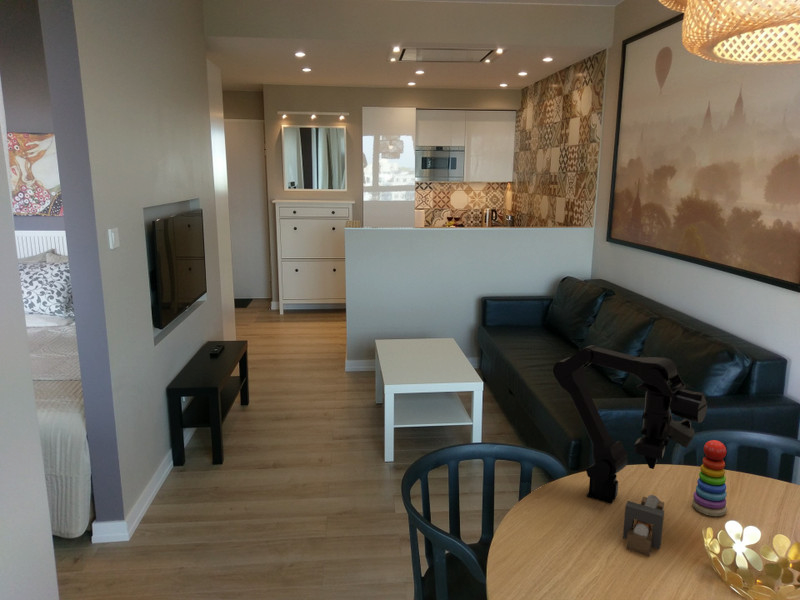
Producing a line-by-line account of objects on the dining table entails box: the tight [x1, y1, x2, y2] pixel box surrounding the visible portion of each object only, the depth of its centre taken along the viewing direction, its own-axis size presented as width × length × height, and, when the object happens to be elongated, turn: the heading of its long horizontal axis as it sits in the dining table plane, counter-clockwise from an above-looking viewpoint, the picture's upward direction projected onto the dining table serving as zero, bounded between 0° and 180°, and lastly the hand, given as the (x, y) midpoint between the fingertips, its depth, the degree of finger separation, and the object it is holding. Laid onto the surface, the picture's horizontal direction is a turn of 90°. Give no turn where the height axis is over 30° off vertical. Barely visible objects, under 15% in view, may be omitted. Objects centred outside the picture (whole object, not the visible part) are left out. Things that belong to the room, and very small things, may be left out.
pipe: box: [625, 494, 665, 557], centre depth 137 cm, size 18×5×6 cm, turn 147°
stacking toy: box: [691, 439, 728, 517], centre depth 145 cm, size 8×8×19 cm
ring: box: [622, 500, 665, 550], centre depth 132 cm, size 2×8×8 cm, turn 57°
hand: (651, 468), depth 142 cm, fingers closed
